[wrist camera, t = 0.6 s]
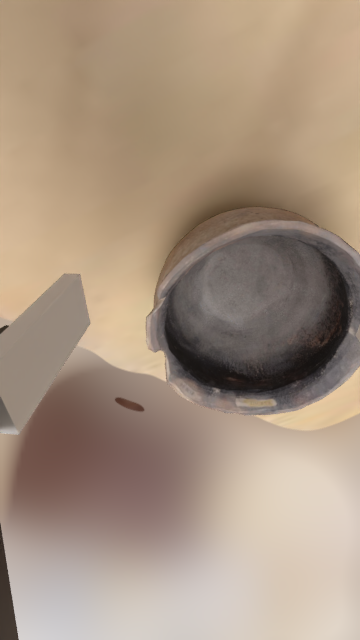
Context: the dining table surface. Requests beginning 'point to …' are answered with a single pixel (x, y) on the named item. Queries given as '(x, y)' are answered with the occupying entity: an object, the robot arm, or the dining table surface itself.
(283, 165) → the dining table surface
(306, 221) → the ceramic bowl
